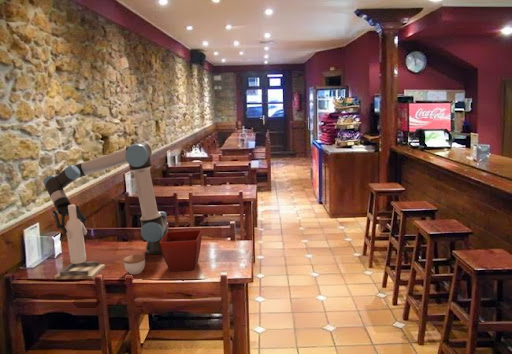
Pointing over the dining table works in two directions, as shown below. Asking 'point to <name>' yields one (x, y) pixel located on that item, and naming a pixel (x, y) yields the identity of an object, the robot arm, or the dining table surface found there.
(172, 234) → the plant pot
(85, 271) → the shallow rectangular tray
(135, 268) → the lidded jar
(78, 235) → the bottle
